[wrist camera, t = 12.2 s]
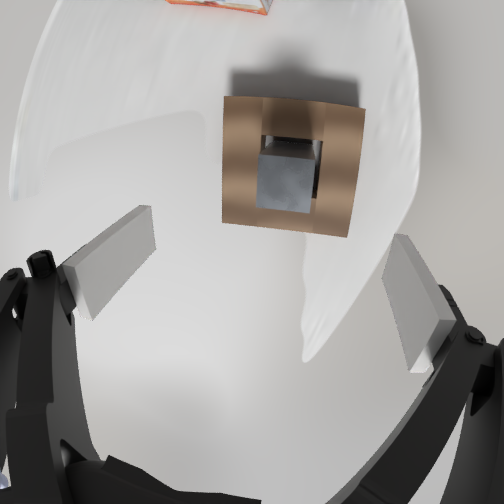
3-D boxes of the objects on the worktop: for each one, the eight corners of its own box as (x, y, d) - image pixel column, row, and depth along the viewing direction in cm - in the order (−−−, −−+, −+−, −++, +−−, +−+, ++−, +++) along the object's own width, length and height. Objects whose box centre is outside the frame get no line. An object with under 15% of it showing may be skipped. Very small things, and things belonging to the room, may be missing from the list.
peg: (273, 140, 34) (258, 154, 24) (312, 144, 34) (315, 160, 23) (271, 177, 37) (255, 207, 26) (309, 181, 36) (309, 213, 26)
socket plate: (232, 97, 33) (224, 96, 29) (359, 108, 30) (365, 108, 27) (229, 211, 40) (222, 222, 37) (343, 225, 38) (346, 237, 35)
